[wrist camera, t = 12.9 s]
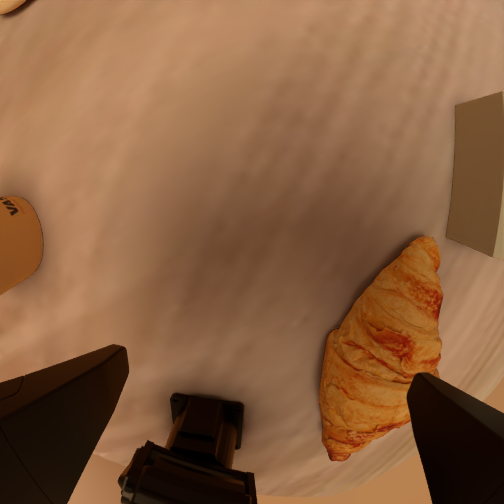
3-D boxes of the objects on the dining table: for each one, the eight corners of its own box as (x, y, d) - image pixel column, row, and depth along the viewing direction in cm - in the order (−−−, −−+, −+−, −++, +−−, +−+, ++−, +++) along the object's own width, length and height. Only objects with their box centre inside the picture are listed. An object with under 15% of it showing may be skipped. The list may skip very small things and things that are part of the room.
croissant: (368, 217, 23) (346, 218, 16) (482, 250, 18) (510, 266, 11) (306, 419, 28) (270, 466, 21) (391, 451, 23) (373, 507, 16)
